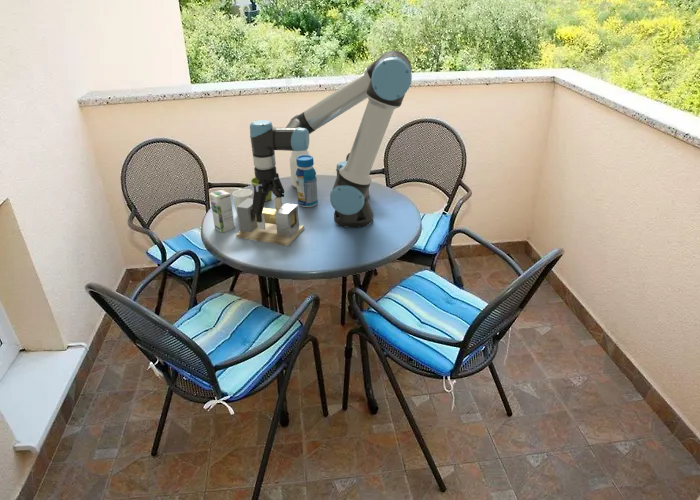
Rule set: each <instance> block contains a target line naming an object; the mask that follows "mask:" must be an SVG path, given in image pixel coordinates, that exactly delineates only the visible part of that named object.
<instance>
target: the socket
mask: <svg viewBox="0 0 700 500" xmlns="http://www.w3.org/2000/svg"><path fill="white" fill-rule="evenodd" d="M252 205H253V199H251V198H247V199H246V200H245V201H244V202H242V203H241V204H240V205H238V206H237V212H238V217H237V219H238V225H239V231H245V232H252V231H253V230H254V229H255V228H256V227H258V226H257V222H256V218H255V214H252ZM237 212H236V213H237Z"/></svg>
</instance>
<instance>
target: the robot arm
mask: <svg viewBox="0 0 700 500" xmlns="http://www.w3.org/2000/svg"><path fill="white" fill-rule="evenodd" d="M409 59H410V58H408V56H406V55H405V54H404V53H403V52H401V51H398V50H390V51H387V52H384V53H383V54H382V55H381V56H379V57H378V58H377V59H376V60H375V61H373V62H372V63H371V64H369V65H367V66H366V67H365V69H364V71H363V73H361V74H359V76H357V77H355V78H354V79H352V80H350V81H349V82H348V83H346V84H344V85H343V86H341V87H339V88H338V89H337V90H335V91H334V92H332V93H330V94H329V95H327V96H326V97H324V98H323V99H321V100H320V101H318V102H317V103H315V104H314V105H312V106H311V107H309V108H307V109H306V110H304V111H303V112H301V113H300V114H296V115H295V116H293V117H292V118H291V119H290V120H289V122H288V124H287V125H286V127H275V126H274V127H273V123H272V121H271V120H266V119H258V120H254V121H252V122H250V124H249V138H250V143H251V145H250V146H251V150H252V159H253V166H254V167H253V169H254V177H256V178H257V179H258V180H259V185H254V187H253V205H252V214H256V218H257V226H258V229H261V230H265V229H266V228H265V219H264V213H262V211H263V208H265V203H266V201H265V199H266V196H267V195H268V193H269V191H272V195H274V197H273V201H274V209H277V210H278V209H279V208H280V207H281V206H283V201H282V200H283V199H282V198H284V197H285V189H284V186H283V185H282V182H281V179H280V175H279V172H277V166H276V164H277V163H276V155H275V151H290V152H292V151H305V150H307V149H309V147H310V134H312V133H313V132H315V131H316V130H318V129H320V128H322V127H323V126H325V125H326V124H328V123H330V122H331V121H333V120H335V119H336V118H338V117H339V116H340V115H342V114H343V113H346V112H348V110H351V109H352V108H353V107H355V106H357V105H358V104H360V103H361V102H363V101H365V100H366V99H368V101H367V104H366V107H365V109H364V112H363V114H362V117H361V122H360V124H359V127H358V129H357V132H356V135H355V138H354V141H353V144H352V147H351V149H350V152H349V153H350V155H349V157H348V160H347V161H346V160H344V161H340V162H338V163H337V164H336V169H335V171H336V178H335V182H334V185H333V187H332V190H331V191H330V193H329V194H330V195H329V197H330V198H329V200H330V201H329V202H330V204H331V206H332V208H333V209H334V212H333V221H334V223H335V224H336V225H338V226H341V227H344V228H348V229H349V228H350V229H351V228H353V229H355V228H362V227H365V226H368V225H370V224H371V223H372V222H373V220H374V213H373V210H372V207H371V204H370V201H369V195H368V189H369V190H370V186H371V183H372V178H371V176H370V173H371V171H372V168H373V166H374V163H375V160H376V158H377V156H378V152H379V150H380V148H381V145H382V142H383V140H384V138H385V134H386V132H387V129H388V126H389V124H390V121H391V119H392V116H393V113H394V110H396V109H398V108H400V107H401V106H402V104H403V100H404V98H405V96H406V93H407V92H408V91H409V89H410V87H411V83H412V79H413V78H412V77H413V75H412V64H411V61H410V60H409ZM264 192H265V193H264Z"/></svg>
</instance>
